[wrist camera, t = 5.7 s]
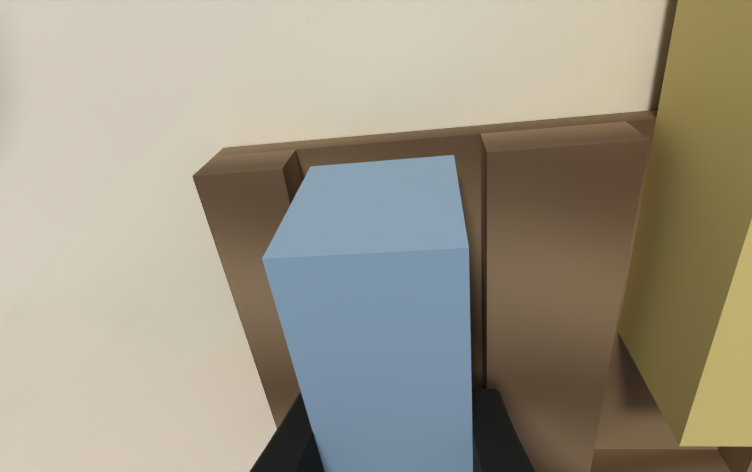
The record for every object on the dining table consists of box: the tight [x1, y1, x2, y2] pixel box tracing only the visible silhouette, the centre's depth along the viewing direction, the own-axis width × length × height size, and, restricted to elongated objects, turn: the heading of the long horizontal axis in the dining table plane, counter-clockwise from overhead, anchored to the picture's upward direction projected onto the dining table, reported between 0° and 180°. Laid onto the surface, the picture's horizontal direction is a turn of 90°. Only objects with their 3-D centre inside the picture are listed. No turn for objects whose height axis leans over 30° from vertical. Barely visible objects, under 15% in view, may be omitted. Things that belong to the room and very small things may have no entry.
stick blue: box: [262, 155, 473, 472], centre depth 11 cm, size 10×3×4 cm, turn 7°
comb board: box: [193, 110, 752, 472], centre depth 12 cm, size 12×15×3 cm
